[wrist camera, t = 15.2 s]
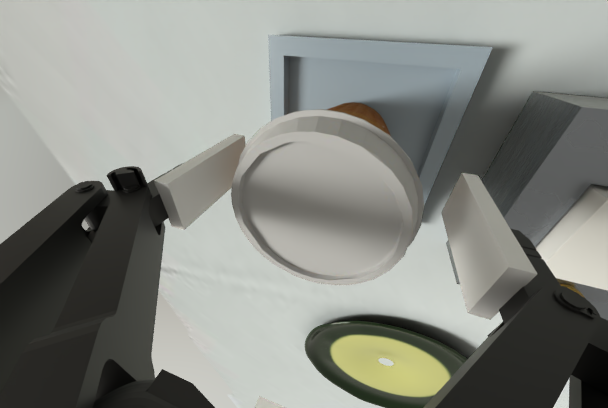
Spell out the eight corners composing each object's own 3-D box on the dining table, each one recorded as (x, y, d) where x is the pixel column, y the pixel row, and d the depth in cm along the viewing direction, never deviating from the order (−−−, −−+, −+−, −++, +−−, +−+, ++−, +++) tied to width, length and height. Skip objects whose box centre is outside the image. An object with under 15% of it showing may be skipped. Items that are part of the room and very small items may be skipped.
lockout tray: (276, 35, 18) (268, 34, 17) (485, 47, 15) (493, 47, 13) (279, 191, 26) (273, 198, 25) (412, 221, 23) (413, 230, 22)
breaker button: (551, 158, 16) (607, 199, 12) (661, 174, 15) (769, 226, 11) (504, 223, 20) (535, 272, 15) (589, 241, 18) (650, 300, 14)
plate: (444, 416, 44) (446, 433, 42) (305, 364, 51) (302, 377, 49) (529, 351, 28) (540, 373, 26) (311, 287, 35) (306, 301, 33)
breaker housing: (533, 91, 15) (607, 115, 10) (793, 114, 12) (1088, 165, 7) (444, 246, 23) (459, 304, 18) (589, 280, 21) (655, 360, 15)
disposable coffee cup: (436, 143, 18) (482, 247, 9) (347, 204, 24) (317, 307, 14) (354, 48, 16) (300, 50, 7) (279, 138, 22) (195, 206, 13)
